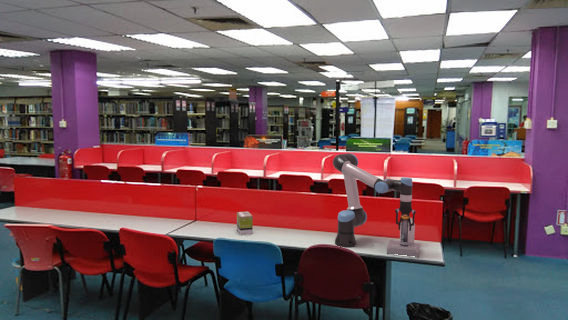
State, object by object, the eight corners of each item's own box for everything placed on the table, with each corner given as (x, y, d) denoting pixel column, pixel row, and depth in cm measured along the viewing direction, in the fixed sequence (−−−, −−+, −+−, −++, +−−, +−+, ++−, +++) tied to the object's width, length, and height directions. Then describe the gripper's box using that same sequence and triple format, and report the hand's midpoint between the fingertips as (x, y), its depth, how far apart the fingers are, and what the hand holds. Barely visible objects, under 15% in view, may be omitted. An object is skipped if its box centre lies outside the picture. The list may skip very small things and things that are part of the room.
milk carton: (399, 242, 282) (400, 217, 280) (407, 242, 284) (408, 216, 282) (405, 245, 275) (407, 219, 273) (414, 244, 278) (415, 218, 276)
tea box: (236, 229, 310) (236, 211, 309) (248, 229, 313) (248, 211, 312) (240, 235, 296) (240, 216, 295) (252, 234, 299) (253, 215, 298)
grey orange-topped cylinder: (399, 241, 260) (400, 216, 258) (399, 239, 265) (400, 214, 264) (408, 242, 258) (409, 217, 256) (409, 240, 263) (410, 215, 262)
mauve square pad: (386, 254, 257) (387, 245, 256) (389, 245, 275) (390, 237, 275) (418, 258, 249) (419, 249, 249) (419, 249, 268) (420, 240, 268)
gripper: (391, 200, 259) (390, 235, 261) (419, 202, 253) (418, 237, 255) (392, 198, 266) (391, 232, 268) (419, 200, 260) (418, 234, 262)
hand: (404, 234), depth 261 cm, fingers closed on grey orange-topped cylinder, 4 cm apart
